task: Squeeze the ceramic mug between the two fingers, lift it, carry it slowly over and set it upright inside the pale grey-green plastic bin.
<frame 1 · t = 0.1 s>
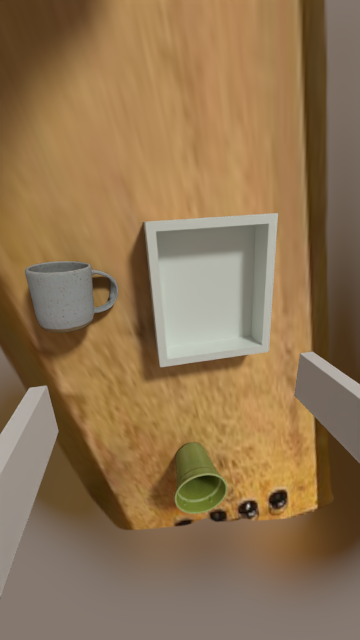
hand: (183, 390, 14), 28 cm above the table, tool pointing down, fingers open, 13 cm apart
ceramic mug: (79, 286, 38), on the table
plant pot: (190, 452, 53), on the table
bin: (205, 287, 41), on the table
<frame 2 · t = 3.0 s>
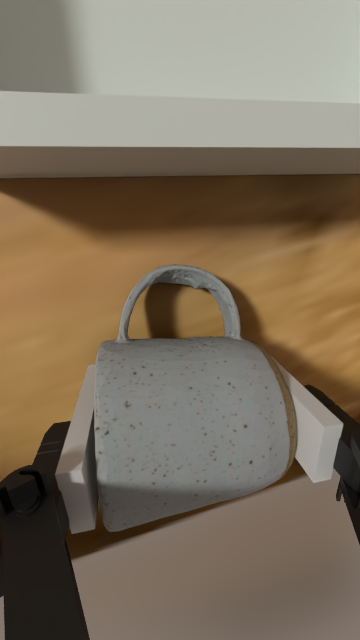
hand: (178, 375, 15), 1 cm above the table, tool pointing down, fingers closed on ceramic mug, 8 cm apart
ceramic mug: (169, 353, 16), on the table, touching gripper
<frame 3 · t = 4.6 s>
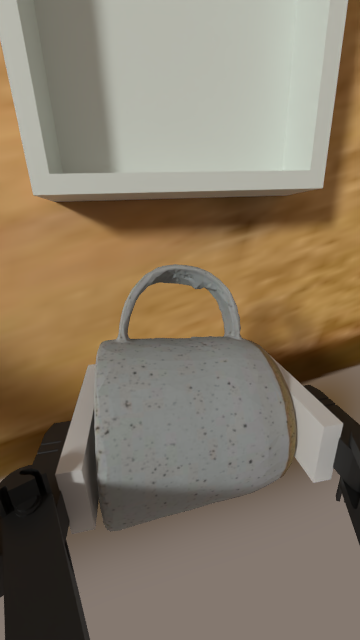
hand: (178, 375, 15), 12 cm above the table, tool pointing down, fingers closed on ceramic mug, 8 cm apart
ceramic mug: (169, 353, 16), point 11 cm above the table, touching gripper
bin: (173, 72, 20), on the table
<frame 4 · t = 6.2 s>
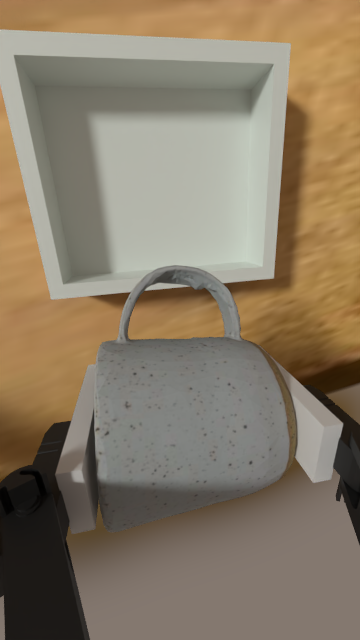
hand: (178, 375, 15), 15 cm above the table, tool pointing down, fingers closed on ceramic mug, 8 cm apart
ceramic mug: (169, 353, 16), point 14 cm above the table, touching gripper
bin: (156, 189, 25), on the table
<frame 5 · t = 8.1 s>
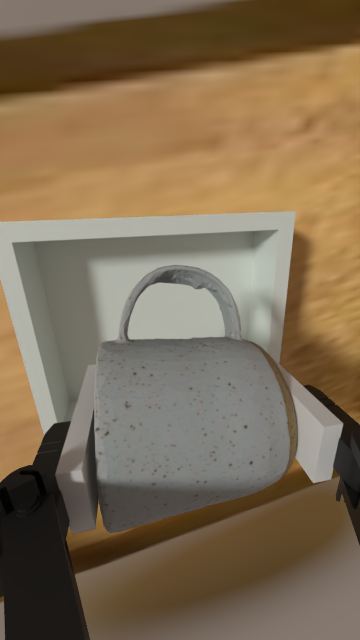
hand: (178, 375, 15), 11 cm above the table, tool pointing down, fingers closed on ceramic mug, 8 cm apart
ceramic mug: (169, 353, 16), point 9 cm above the table, touching gripper
bin: (156, 316, 25), on the table
when the fingers open (3 cm above the table, at t = 9.7 s): ceramic mug stays where it is, resting on bin.
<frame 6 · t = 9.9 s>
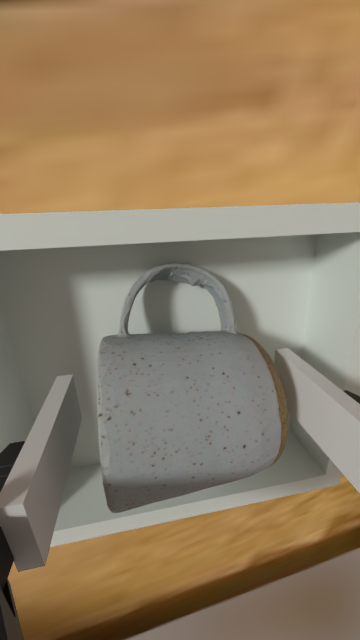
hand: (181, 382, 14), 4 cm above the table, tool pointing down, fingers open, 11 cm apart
ceramic mug: (168, 348, 17), point 1 cm above the table, touching bin
bin: (171, 352, 18), on the table
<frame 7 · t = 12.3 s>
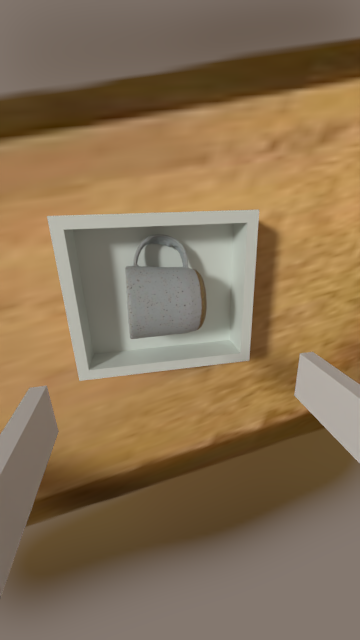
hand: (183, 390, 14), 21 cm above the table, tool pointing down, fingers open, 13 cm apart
ceramic mug: (157, 281, 32), point 1 cm above the table, touching bin
bin: (159, 289, 33), on the table
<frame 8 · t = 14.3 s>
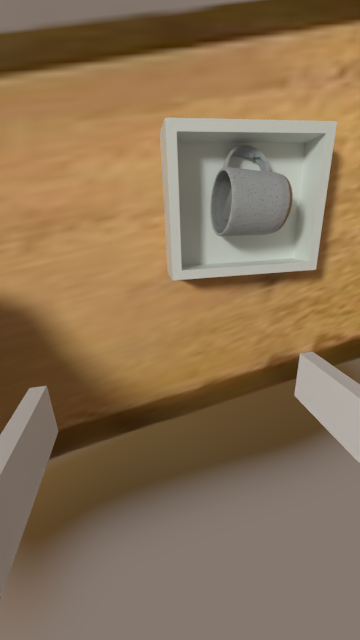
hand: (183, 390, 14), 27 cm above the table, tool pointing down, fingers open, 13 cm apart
ceramic mug: (235, 195, 35), point 1 cm above the table, touching bin
bin: (236, 207, 37), on the table
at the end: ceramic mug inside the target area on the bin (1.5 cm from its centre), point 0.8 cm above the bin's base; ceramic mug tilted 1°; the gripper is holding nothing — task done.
